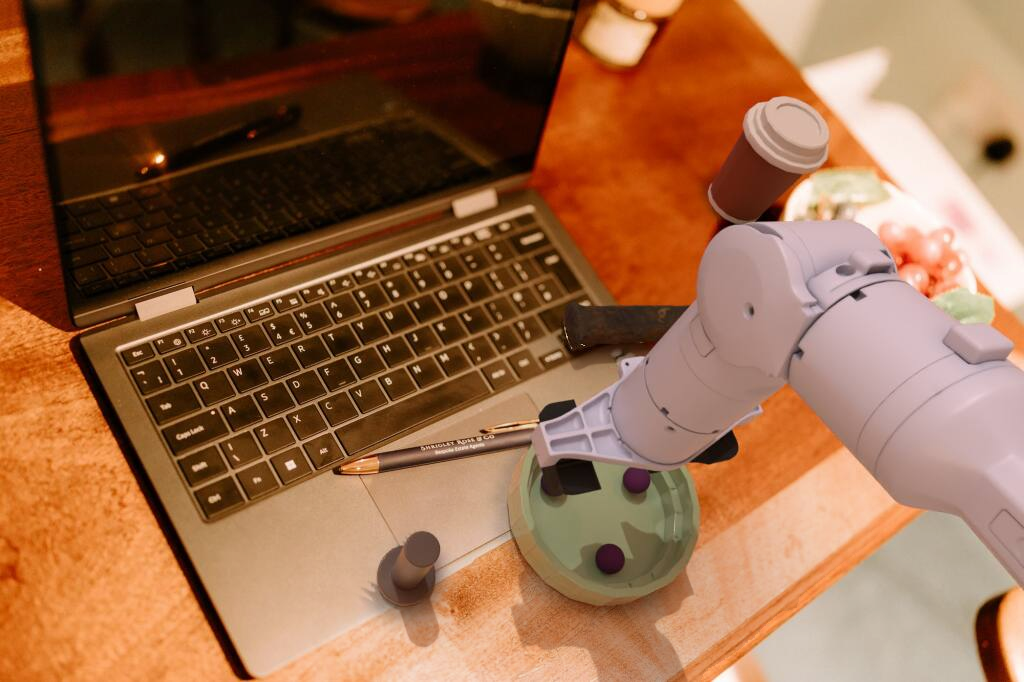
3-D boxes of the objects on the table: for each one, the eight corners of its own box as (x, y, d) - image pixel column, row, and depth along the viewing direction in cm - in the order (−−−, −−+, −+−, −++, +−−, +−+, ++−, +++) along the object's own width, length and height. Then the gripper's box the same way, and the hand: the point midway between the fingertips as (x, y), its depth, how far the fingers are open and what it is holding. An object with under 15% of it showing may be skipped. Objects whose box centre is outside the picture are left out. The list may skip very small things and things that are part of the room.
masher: (435, 603, 49) (457, 580, 42) (377, 608, 48) (390, 585, 41) (431, 546, 51) (452, 515, 44) (375, 548, 50) (388, 517, 43)
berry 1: (565, 499, 55) (575, 491, 53) (539, 500, 54) (547, 491, 52) (561, 472, 56) (570, 463, 54) (535, 473, 55) (543, 463, 53)
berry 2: (620, 576, 53) (632, 569, 51) (593, 578, 52) (604, 571, 51) (615, 546, 54) (626, 539, 52) (588, 548, 53) (599, 540, 52)
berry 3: (645, 496, 57) (657, 488, 55) (621, 497, 56) (632, 489, 54) (640, 470, 58) (651, 461, 56) (616, 471, 57) (626, 462, 55)
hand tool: (563, 356, 62) (581, 330, 58) (556, 317, 64) (573, 289, 60) (747, 358, 68) (775, 334, 64) (735, 322, 69) (762, 297, 66)
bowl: (694, 599, 54) (720, 589, 51) (517, 613, 50) (533, 604, 47) (655, 427, 61) (676, 409, 58) (497, 428, 57) (510, 408, 54)
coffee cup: (696, 220, 75) (757, 138, 65) (696, 161, 80) (754, 76, 70) (773, 244, 76) (845, 167, 66) (769, 184, 81) (836, 104, 71)
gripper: (769, 305, 41) (667, 401, 53) (546, 335, 36) (486, 434, 48) (825, 414, 38) (704, 490, 50) (591, 464, 33) (516, 537, 45)
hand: (600, 470), depth 48 cm, fingers open, 7 cm apart
